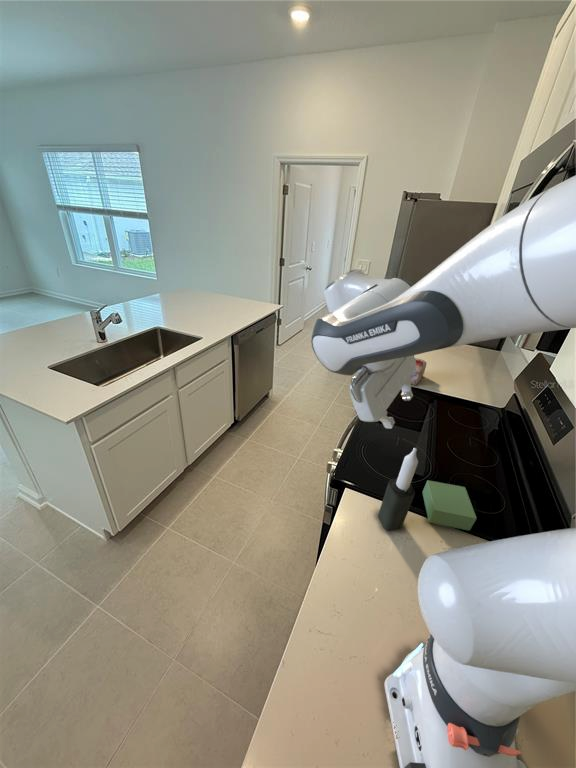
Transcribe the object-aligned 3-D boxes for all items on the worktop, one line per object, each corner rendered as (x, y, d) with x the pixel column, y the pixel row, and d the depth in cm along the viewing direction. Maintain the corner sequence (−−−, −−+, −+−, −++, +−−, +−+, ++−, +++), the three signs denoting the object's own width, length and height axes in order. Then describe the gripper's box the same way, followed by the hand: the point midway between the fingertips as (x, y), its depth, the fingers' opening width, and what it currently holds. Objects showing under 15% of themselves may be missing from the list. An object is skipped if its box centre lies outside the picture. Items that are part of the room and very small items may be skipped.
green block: (469, 530, 78) (476, 518, 76) (428, 522, 80) (434, 510, 77) (459, 499, 87) (465, 487, 84) (422, 492, 88) (427, 480, 86)
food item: (417, 387, 140) (423, 368, 135) (400, 381, 144) (405, 363, 139) (423, 375, 150) (429, 357, 145) (407, 371, 154) (412, 353, 149)
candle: (385, 531, 77) (411, 457, 64) (376, 513, 81) (398, 441, 68) (403, 528, 78) (432, 455, 65) (394, 511, 82) (419, 439, 69)
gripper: (362, 382, 51) (392, 446, 55) (409, 327, 63) (431, 384, 67) (333, 385, 56) (363, 444, 60) (382, 334, 68) (404, 386, 72)
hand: (399, 412), depth 64 cm, fingers open, 8 cm apart
